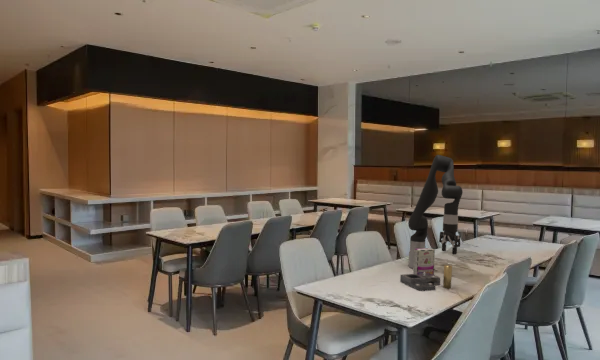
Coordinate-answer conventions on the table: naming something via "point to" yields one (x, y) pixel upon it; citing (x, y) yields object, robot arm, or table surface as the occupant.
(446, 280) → the brass pin
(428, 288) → the lower chain end
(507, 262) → the table surface
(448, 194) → the robot arm
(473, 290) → the table surface
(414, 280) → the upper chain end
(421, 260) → the candy bar box
